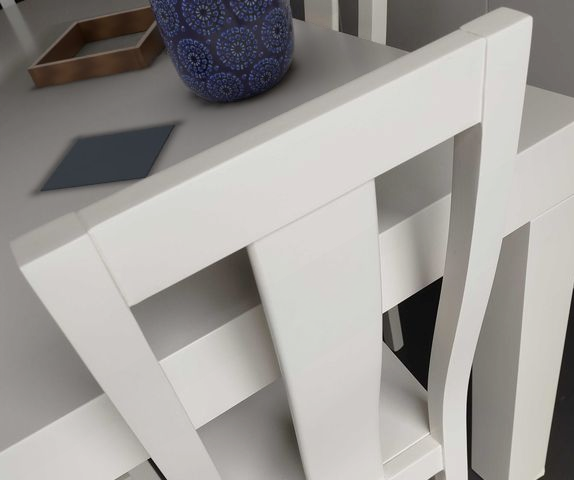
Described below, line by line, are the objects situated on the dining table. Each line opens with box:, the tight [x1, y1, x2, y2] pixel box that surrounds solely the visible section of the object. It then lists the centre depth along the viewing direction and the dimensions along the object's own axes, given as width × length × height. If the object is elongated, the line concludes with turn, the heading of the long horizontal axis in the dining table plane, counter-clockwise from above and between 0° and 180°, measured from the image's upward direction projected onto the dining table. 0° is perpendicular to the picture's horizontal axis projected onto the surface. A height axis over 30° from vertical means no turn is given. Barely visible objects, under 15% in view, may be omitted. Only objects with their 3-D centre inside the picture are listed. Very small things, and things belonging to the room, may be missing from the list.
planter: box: [148, 0, 296, 103], centre depth 74 cm, size 16×16×15 cm
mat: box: [39, 124, 175, 192], centre depth 73 cm, size 14×12×1 cm
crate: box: [26, 5, 166, 89], centre depth 100 cm, size 20×20×4 cm
